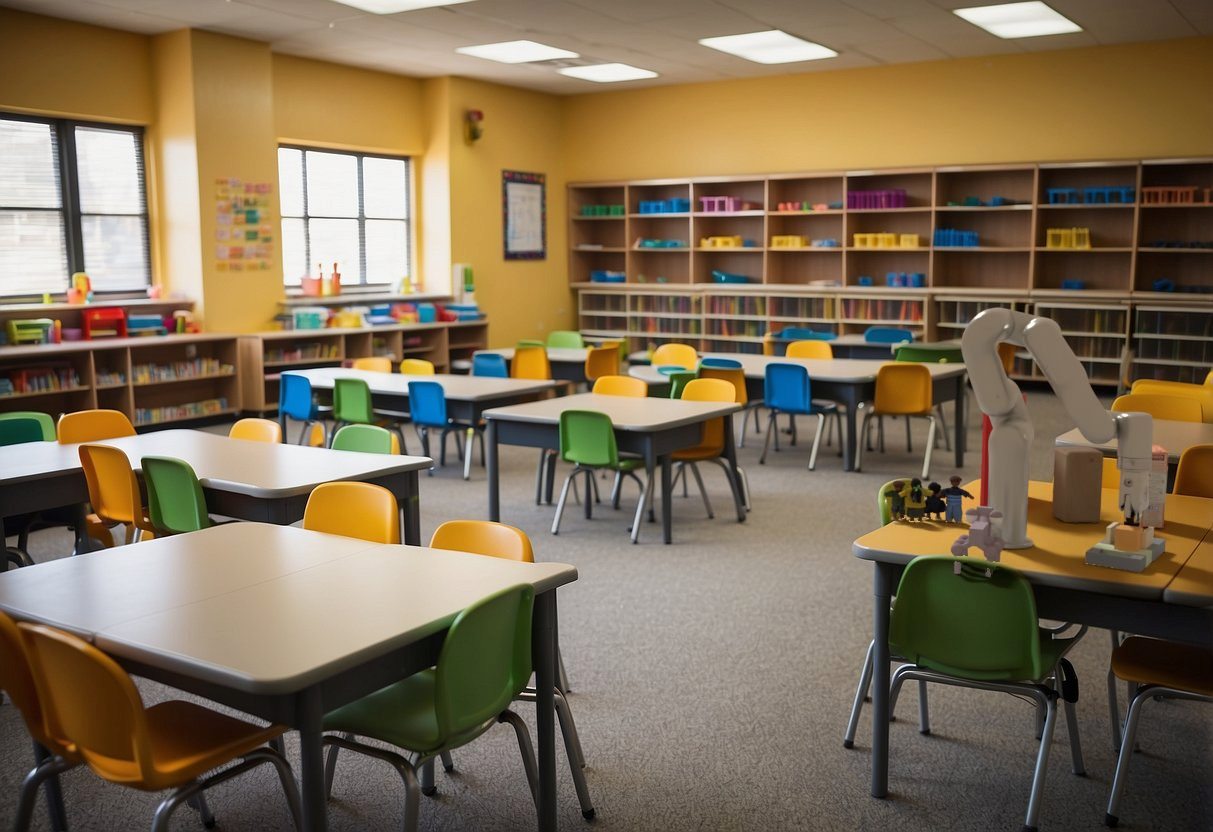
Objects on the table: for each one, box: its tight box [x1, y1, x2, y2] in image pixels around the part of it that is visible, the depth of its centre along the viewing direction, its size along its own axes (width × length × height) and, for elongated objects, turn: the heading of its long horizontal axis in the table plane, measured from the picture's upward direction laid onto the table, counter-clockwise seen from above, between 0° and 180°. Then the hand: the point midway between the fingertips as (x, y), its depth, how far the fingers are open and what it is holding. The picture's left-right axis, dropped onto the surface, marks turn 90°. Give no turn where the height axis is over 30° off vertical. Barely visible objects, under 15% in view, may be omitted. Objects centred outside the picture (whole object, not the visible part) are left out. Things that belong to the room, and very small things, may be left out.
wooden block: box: [1051, 445, 1104, 523], centre depth 299 cm, size 10×10×20 cm
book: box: [979, 392, 1027, 507], centre depth 321 cm, size 27×8×32 cm, turn 151°
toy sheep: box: [950, 505, 1005, 578], centre depth 254 cm, size 20×11×14 cm, turn 152°
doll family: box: [883, 475, 975, 524], centre depth 300 cm, size 23×9×13 cm, turn 91°
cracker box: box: [1139, 444, 1170, 530], centre depth 294 cm, size 14×6×21 cm, turn 161°
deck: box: [1084, 521, 1167, 573], centre depth 260 cm, size 24×12×7 cm, turn 141°
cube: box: [1114, 524, 1144, 552], centre depth 257 cm, size 5×5×5 cm
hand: (1131, 538), depth 261 cm, fingers closed
